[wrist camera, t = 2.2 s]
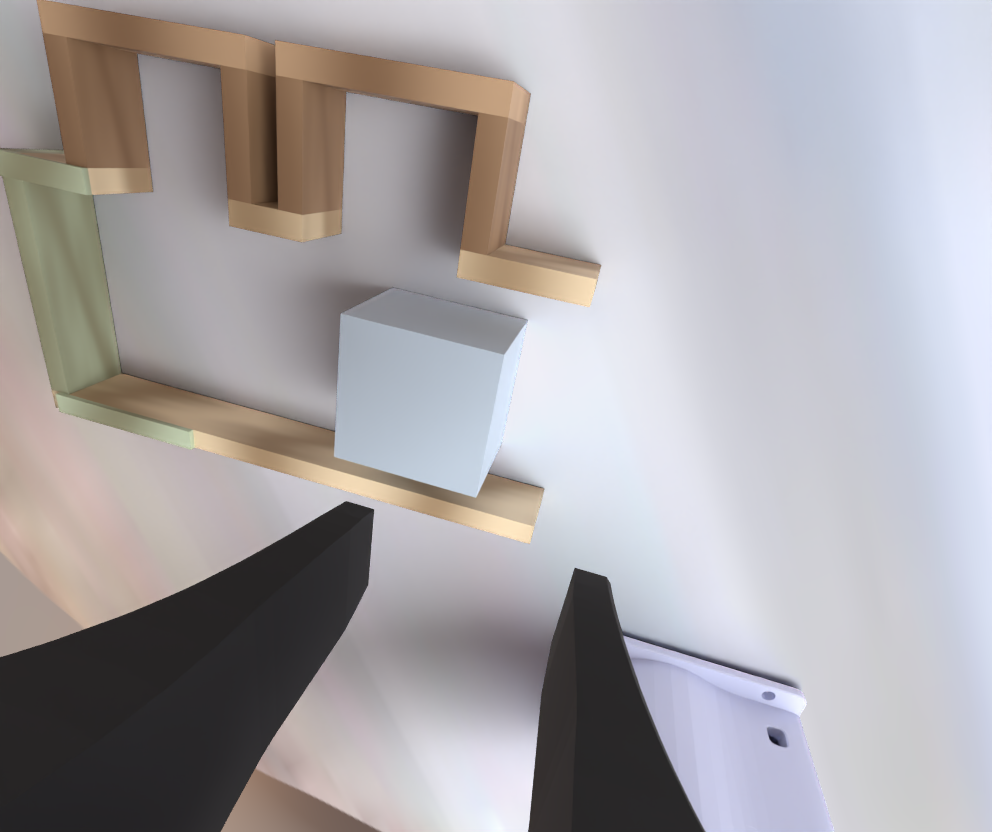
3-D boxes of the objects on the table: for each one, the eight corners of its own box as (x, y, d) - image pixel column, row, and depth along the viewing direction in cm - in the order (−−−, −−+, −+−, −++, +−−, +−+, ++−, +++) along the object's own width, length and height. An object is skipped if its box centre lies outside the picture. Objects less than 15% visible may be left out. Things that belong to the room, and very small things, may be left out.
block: (528, 319, 19) (504, 354, 15) (502, 441, 21) (475, 498, 17) (394, 286, 19) (340, 313, 16) (383, 409, 21) (333, 456, 18)
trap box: (639, 113, 15) (641, 102, 13) (540, 505, 21) (528, 547, 19) (41, 7, 18) (-50, -18, 15) (108, 385, 24) (51, 409, 22)
